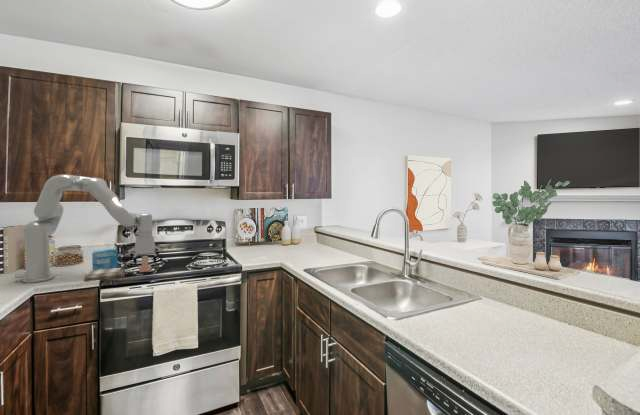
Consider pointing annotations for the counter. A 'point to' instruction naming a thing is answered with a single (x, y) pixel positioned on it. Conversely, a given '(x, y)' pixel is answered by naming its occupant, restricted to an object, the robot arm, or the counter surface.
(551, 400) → the counter surface
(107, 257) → the data package
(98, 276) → the ticket pad
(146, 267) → the stub
